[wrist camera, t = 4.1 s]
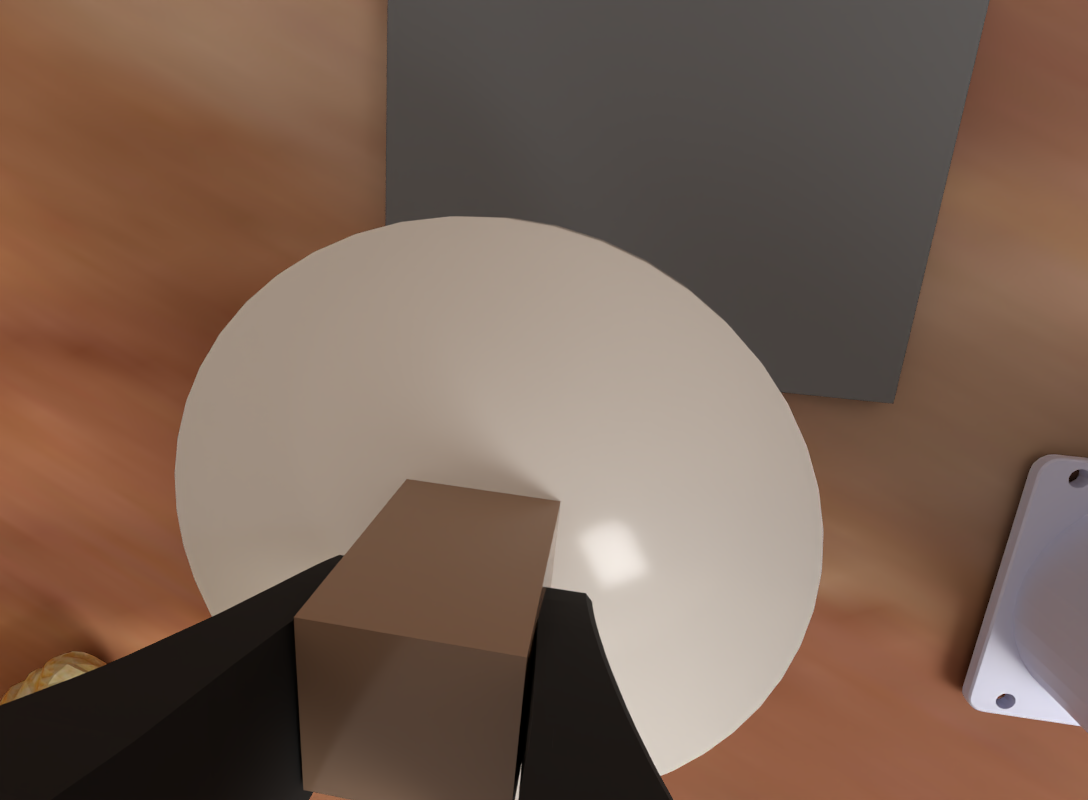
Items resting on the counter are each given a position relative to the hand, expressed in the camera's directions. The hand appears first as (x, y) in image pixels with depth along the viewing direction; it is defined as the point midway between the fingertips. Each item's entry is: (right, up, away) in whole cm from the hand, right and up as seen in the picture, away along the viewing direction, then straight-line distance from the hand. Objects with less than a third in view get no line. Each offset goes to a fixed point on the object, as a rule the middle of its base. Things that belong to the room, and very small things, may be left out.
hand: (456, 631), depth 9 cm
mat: (+4, +10, +6) cm, 13 cm away
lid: (0, +1, +2) cm, 2 cm away
